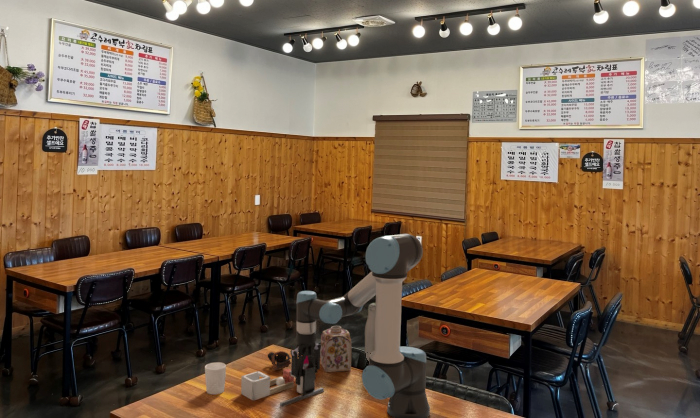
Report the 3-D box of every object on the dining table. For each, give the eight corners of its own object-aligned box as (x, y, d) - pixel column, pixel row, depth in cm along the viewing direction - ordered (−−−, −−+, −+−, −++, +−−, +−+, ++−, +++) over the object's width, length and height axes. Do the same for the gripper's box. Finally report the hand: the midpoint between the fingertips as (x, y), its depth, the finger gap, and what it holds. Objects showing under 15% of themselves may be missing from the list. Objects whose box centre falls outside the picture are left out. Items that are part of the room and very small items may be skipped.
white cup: (200, 392, 201) (200, 367, 200) (214, 385, 208) (214, 360, 207) (216, 397, 197) (216, 371, 197) (230, 389, 204) (230, 364, 204)
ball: (286, 386, 208) (286, 377, 208) (279, 388, 206) (279, 379, 205) (281, 383, 211) (281, 375, 210) (274, 386, 208) (274, 377, 208)
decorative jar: (351, 371, 226) (352, 330, 224) (324, 373, 223) (325, 331, 222) (345, 361, 237) (345, 322, 236) (320, 363, 234) (320, 323, 233)
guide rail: (323, 391, 204) (323, 388, 204) (282, 406, 190) (282, 403, 190) (321, 390, 205) (321, 387, 205) (280, 405, 191) (280, 402, 191)
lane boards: (293, 386, 208) (293, 382, 208) (269, 395, 200) (269, 389, 200) (281, 380, 213) (281, 376, 213) (257, 388, 206) (257, 383, 205)
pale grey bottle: (381, 359, 240) (382, 299, 238) (390, 367, 230) (391, 305, 228) (361, 362, 236) (362, 301, 235) (368, 370, 227) (370, 306, 225)
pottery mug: (295, 366, 232) (295, 353, 227) (283, 381, 225) (283, 369, 220) (273, 355, 236) (272, 343, 231) (260, 370, 229) (259, 357, 224)
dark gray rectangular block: (314, 391, 203) (315, 366, 202) (304, 395, 199) (304, 369, 199) (290, 380, 214) (290, 356, 213) (280, 383, 211) (280, 359, 210)
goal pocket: (270, 394, 200) (270, 377, 199) (253, 400, 195) (253, 382, 194) (258, 388, 206) (258, 371, 205) (241, 393, 200) (241, 376, 200)
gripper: (317, 325, 210) (317, 381, 212) (281, 333, 198) (280, 393, 199) (330, 329, 205) (329, 386, 206) (293, 338, 193) (292, 400, 194)
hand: (305, 390), depth 203 cm, fingers closed on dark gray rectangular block, 5 cm apart
